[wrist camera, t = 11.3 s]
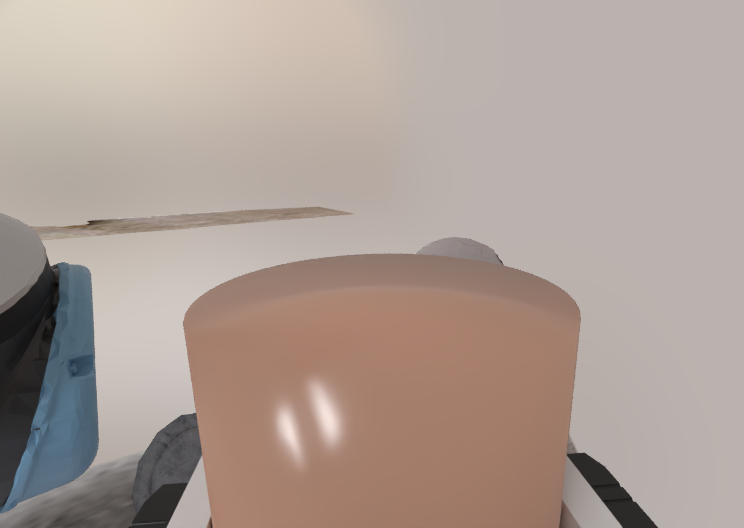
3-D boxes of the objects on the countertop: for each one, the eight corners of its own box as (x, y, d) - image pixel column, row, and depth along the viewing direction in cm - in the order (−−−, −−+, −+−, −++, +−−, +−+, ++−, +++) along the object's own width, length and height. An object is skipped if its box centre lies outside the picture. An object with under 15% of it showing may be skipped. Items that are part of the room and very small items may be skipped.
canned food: (249, 526, 37) (291, 423, 37) (261, 631, 27) (317, 493, 28) (113, 510, 32) (163, 394, 33) (73, 629, 23) (143, 464, 23)
